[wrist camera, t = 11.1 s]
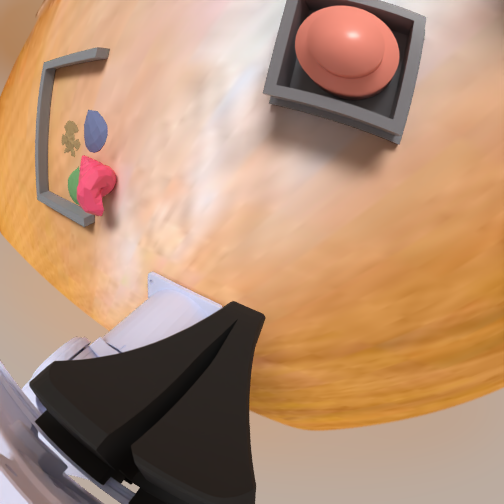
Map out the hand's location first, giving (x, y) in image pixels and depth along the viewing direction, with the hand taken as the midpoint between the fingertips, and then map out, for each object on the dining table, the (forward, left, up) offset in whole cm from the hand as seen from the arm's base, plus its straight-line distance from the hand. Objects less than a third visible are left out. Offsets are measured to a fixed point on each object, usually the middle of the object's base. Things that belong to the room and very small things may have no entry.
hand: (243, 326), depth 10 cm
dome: (+12, 0, -8) cm, 15 cm away
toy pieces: (+1, +22, -10) cm, 24 cm away
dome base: (+12, 0, -9) cm, 15 cm away
